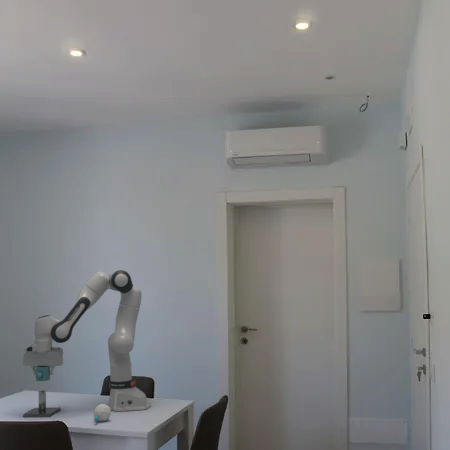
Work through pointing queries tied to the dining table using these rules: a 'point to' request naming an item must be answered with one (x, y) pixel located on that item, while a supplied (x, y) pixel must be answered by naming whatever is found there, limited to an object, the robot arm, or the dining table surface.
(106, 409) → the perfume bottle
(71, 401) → the dining table surface
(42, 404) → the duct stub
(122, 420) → the dining table surface
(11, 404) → the dining table surface
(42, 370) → the sleeve
